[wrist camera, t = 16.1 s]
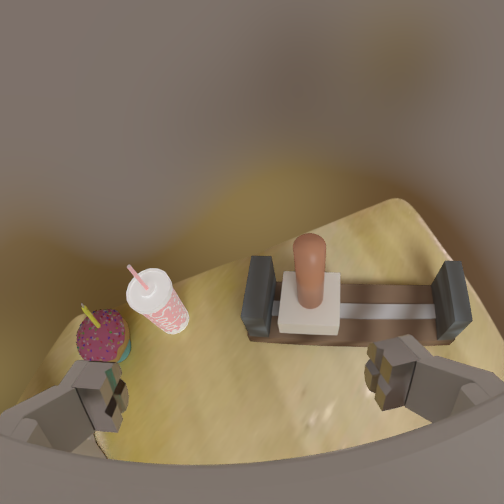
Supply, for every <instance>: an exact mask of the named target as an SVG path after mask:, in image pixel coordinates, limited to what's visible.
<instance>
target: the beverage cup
mask: <svg viewBox="0 0 504 504" xmlns="http://www.w3.org/2000/svg"><path fill="white" fill-rule="evenodd" d="M127 268H128V269H129V271H130V272H131V273H132V274H133V276H134V278H133V279H132V281H131V282H130V283H129V285H128V289H127V291H126V296H127V302H128V303H129V305H130V307H131V308H132V309H133V310H135V311H137V312H138V313H140V314H143V315H144V316H145V317H146V318H148V319H149V320H150V321H151V322H153V323H154V324H155V325H157V326H158V327H159V328H160V329H162V330H163V331H165V332H166V333H168V334H176V333H180V332H181V331H182V330H184V329H185V327H186V326H187V324H188V321H189V314H188V311H187V310H186V308H185V307H184V305H183V303H182V302H181V300H180V298H179V297H178V295H177V293H176V292H175V290H174V288H173V287H172V281H171V280H170V278H169V277H168V275H167V274H166V272H164V271H162V270H160V269H157V268H149V269H147V270H143V271H141V272H140V273H138V274H137V273H136V272H135V270H134V269H133V268H132V267H131V266H130V265H128V266H127Z"/></svg>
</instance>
